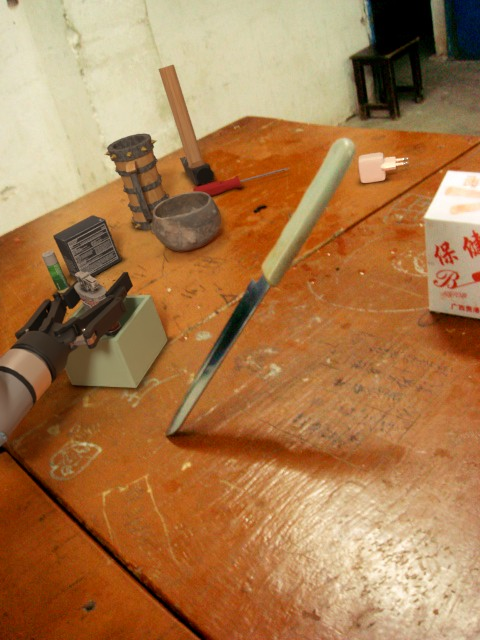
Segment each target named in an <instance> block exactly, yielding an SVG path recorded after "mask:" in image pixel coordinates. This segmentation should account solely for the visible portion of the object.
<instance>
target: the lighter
mask: <svg viewBox="0 0 480 640" xmlns="http://www.w3.org/2000/svg"><path fill="white" fill-rule="evenodd" d="M75 276H76V278H77V279H76V278H75V279H76V280H78V283H76V284H75V286H74V288H75V290H76V292H77V293H78V294H79V296H80V298H81V300H80V302H81V304H82V303H83V305H84V307H85V310H86V311H87V310H89V309H90V308H92V307H93V306H95V305H96V304H97V303H99V302H100V301H102V300H103V299H105V298H106V296H105V293H106V292H107V291H108V290H107V289H106V287H105V286H104V285H102V284H100V283H99V281H98V279H97V278H94V276H93V277H91V275H90V274H89V273H88V272H85V273H83V272H81V271H80V272H77V273H76V274H75ZM121 328H122V327H121V325H120V323H119V322H118V321H117V322H116V323H115V324H114V325H113V326H112V327H111V328H110V329H109V330H108V331H107V332H106V333H105V334H104V335H106V336H115V335H117V334H118V332H119V331H120V330H121Z"/></svg>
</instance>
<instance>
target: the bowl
mask: <svg viewBox="0 0 480 640" xmlns="http://www.w3.org/2000/svg"><path fill="white" fill-rule="evenodd" d="M221 224H222V215H221V211H220V209H219V207H218V205H217V203H216V201H215V200H214V199H213V196H210V195H209V194H207V193H205V192H200V191H188V192H183V193H180V194H176V195H173V196H169V197H168V199H166V200H164V201H162V202H160V203H159V204H158V205H157V206H156V207H155V208H154V210H153V219H152V225H153V227H152V229H150V230H151V232H150V233H151V234H153V235H155V237H156V239H157V240H158V241H159V242H160V243H161V244H162V245H163V246H164V247H166V248H168V249H170V250H172V251H176V252H190V251H194V250H197V249H199V248H202V247H204V246H205V245H208V243H209V242H210V241H212V239H213V238H214V237H215V236H216V235H217V234H218V233H219V230H220V228H221Z"/></svg>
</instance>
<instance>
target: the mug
mask: <svg viewBox="0 0 480 640" xmlns="http://www.w3.org/2000/svg"><path fill="white" fill-rule="evenodd" d="M157 142H158V140H156V139H152V136H151V135H150V134H149V133H144V132H143V133H136V134H131V135H128V136H125V137H122V138H119V139H117V140H115V141H113V142H111V143H110V144H108V146H106V149H107V151H106V152H105V153H104V154H103V155H105V156H109V159H110V161H111V162H113V164H114V165H115V170H114V171H115V172H116V173H117V174H118V175H119V177H120V178H121V180H122V187H123V190H122V191H123V193H125V194H127V198H128V201H129V202H128V204H127V207H128V208H129V210H130V212H131V215H132V217H131V220H130V221H129V222H128V223H131V224H133V225H134V227H135V228H134V229H138V230H152V227H153V225H152V219H153V210H154V208H155V207H156V206H157V205H158V204H159V203H160V202H162V201H164V200H166V199H168V198H170V194H169V193H166V190H165V189H164V186H163V184H162V182H163V179H162V174H160V173H159V171H158V166H157V163H158V162H159V159H158V158H157V157H156V155H155V154H154V148H155V146H154V144H155V143H157Z"/></svg>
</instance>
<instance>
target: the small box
mask: <svg viewBox="0 0 480 640" xmlns="http://www.w3.org/2000/svg"><path fill="white" fill-rule="evenodd" d="M107 223H108V222H107V220H106V219H105V218H103V217H99V216H97V215H94V214H92V215H90V216H88V217H85V218H84V219H82V220H80V221H78V222H77V223H74V224H73V225H71V226H68V227H67V228H65V229H63V230H61V231H59V232H57V233H55V234H53V236H52V237H53V240H54V241H55V243H56V245H57V248H58V250H59V253H60V254H61V257H62V259H63V261H64V263H65V265H66V268H67V270H68V272H69V274H70V277H72V278H74V279H76V280H77V278H76V276H75V274H76V273H77V272H80V271H81V272H83V273H85V272H88V273H89V274H90V275H91V277H93V278H94V277H95V276H97V275H98V274H100V273H102V272H104V271H106V270H107V269H109V268H111V267H112V266H115V265H116V264H118V263H120V262H121V261H122V256H120V254H119V251H118V249H117V246H116V242H115V241H114V238H113V236H112V233H111V231H110V228H109V226H108V224H107Z"/></svg>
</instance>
